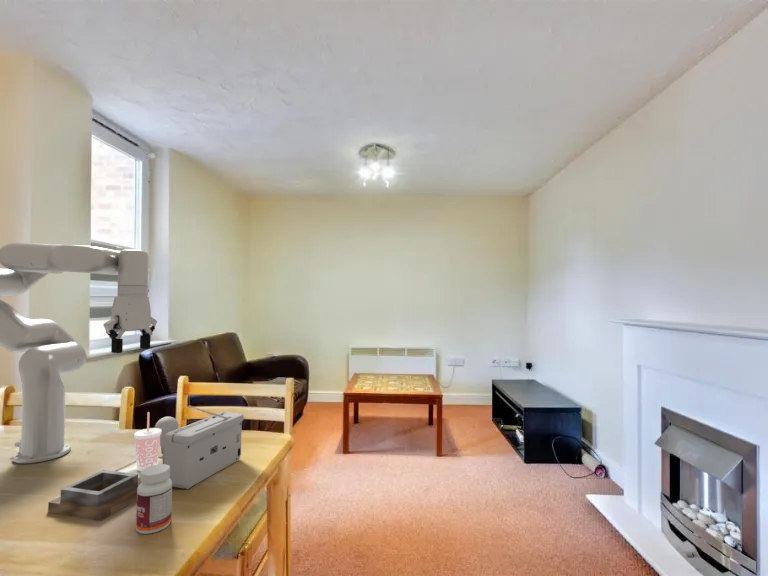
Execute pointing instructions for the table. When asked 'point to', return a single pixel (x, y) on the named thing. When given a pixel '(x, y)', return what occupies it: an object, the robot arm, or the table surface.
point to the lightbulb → (166, 427)
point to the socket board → (99, 493)
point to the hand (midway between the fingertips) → (131, 350)
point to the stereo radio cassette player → (202, 448)
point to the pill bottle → (154, 499)
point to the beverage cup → (147, 446)
